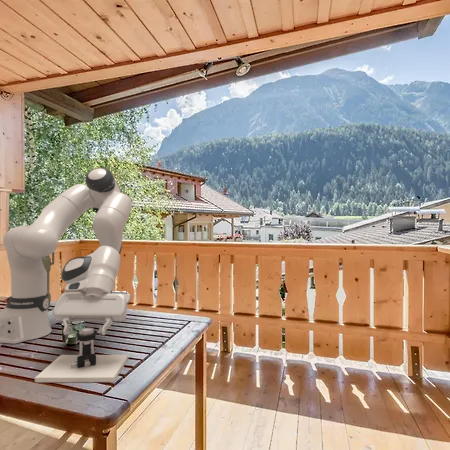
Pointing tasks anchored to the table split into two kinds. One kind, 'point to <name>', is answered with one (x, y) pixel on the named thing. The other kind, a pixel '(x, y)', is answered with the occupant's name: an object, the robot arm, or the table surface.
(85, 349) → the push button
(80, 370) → the board
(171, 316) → the table surface
